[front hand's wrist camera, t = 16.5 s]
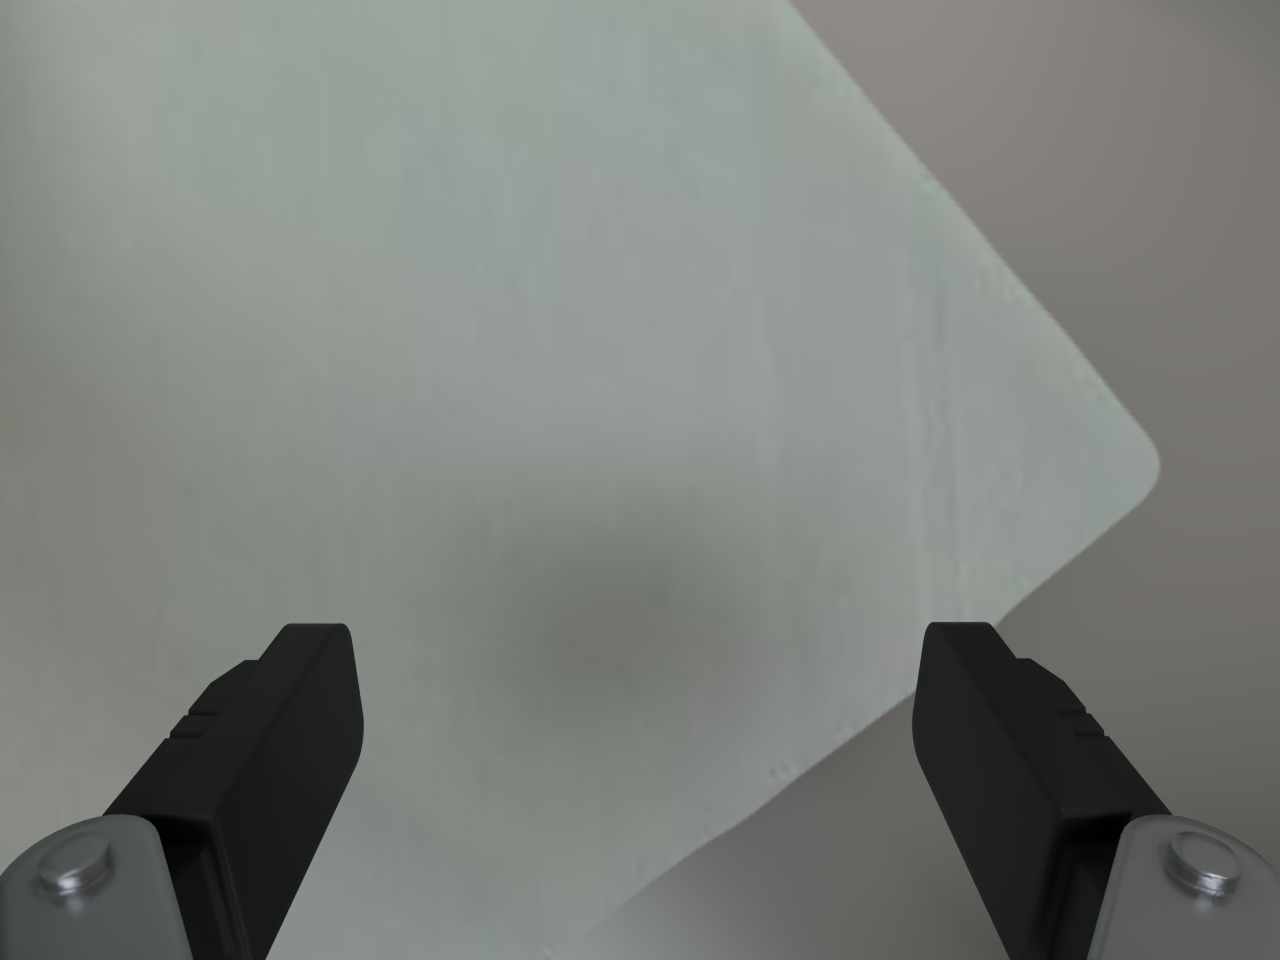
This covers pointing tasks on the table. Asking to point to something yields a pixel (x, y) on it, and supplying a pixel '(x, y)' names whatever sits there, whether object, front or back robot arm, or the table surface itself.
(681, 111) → the table surface
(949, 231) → the table surface
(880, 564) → the table surface
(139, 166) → the table surface
